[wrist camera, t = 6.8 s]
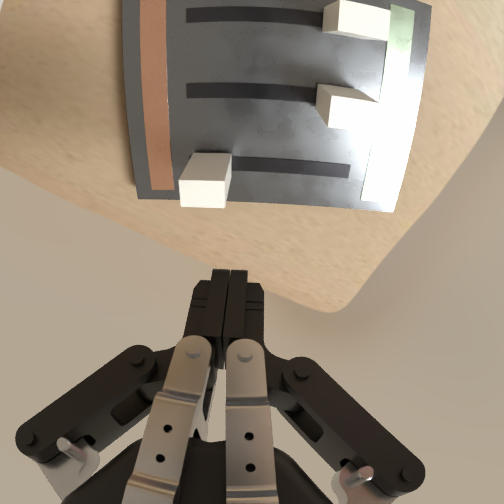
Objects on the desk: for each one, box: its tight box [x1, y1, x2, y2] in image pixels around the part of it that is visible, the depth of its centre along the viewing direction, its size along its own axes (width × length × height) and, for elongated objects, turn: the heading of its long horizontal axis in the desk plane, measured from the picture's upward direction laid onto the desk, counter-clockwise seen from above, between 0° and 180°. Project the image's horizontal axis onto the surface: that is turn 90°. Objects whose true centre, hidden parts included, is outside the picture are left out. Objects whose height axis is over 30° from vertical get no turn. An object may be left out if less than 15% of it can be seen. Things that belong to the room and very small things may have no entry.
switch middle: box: [315, 84, 380, 134], centre depth 19 cm, size 2×3×5 cm, turn 88°
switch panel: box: [122, 0, 432, 212], centre depth 22 cm, size 19×23×2 cm
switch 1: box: [179, 153, 232, 208], centre depth 22 cm, size 2×3×5 cm, turn 88°
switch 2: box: [322, 0, 391, 41], centre depth 15 cm, size 2×3×5 cm, turn 88°
